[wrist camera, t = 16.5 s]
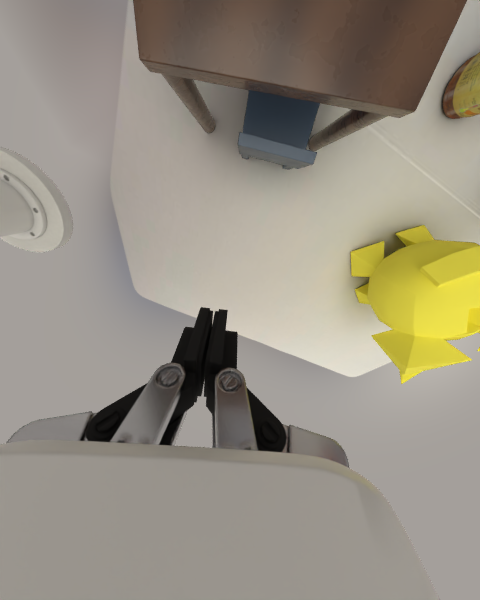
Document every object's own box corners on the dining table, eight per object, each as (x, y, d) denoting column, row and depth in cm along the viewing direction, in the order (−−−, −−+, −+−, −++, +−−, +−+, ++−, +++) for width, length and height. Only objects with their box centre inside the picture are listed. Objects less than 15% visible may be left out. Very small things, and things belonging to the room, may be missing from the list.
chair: (240, 159, 29) (237, 144, 18) (252, 85, 24) (257, 11, 14) (289, 171, 29) (313, 164, 19) (308, 102, 25) (354, 43, 15)
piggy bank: (349, 321, 45) (407, 398, 29) (331, 253, 36) (400, 310, 20) (444, 289, 40) (580, 362, 24) (450, 201, 31) (677, 219, 15)
